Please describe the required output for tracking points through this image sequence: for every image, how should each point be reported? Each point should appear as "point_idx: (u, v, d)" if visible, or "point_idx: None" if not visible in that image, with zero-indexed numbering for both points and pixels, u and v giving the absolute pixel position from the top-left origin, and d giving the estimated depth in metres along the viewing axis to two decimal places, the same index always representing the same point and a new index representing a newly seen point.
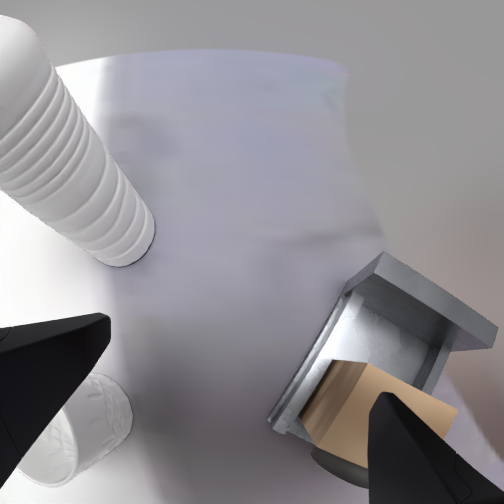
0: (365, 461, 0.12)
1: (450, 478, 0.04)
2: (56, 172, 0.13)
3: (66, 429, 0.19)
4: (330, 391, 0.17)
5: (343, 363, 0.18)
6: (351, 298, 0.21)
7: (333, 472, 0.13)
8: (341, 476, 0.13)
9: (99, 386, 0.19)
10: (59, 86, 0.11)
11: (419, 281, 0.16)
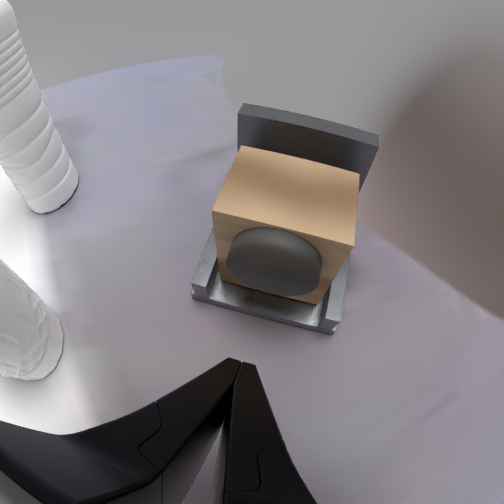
0: (272, 219, 0.15)
1: (249, 464, 0.04)
2: (12, 87, 0.15)
3: None
4: None
5: None
6: None
7: (245, 246, 0.15)
8: (254, 245, 0.14)
9: None
10: (20, 39, 0.14)
11: (280, 113, 0.21)
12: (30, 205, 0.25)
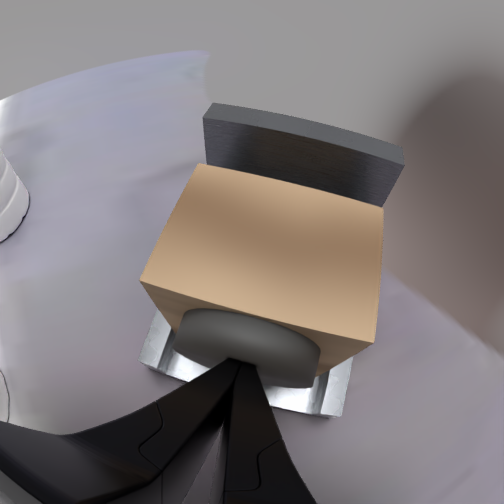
0: (237, 298, 0.09)
1: (249, 464, 0.04)
2: None
3: None
4: None
5: None
6: None
7: (192, 342, 0.09)
8: (206, 343, 0.08)
9: None
10: None
11: (263, 115, 0.15)
12: None
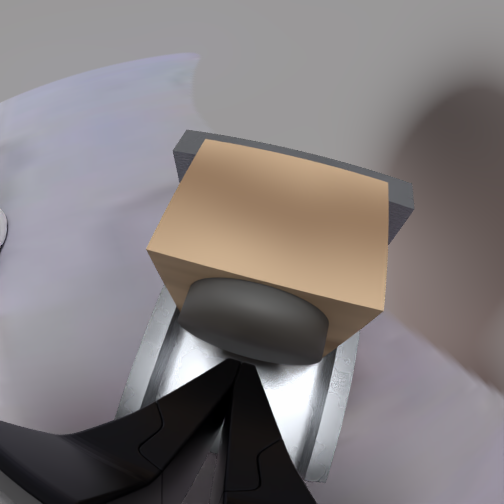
0: (245, 265, 0.09)
1: (249, 463, 0.04)
2: None
3: None
4: None
5: None
6: None
7: (199, 311, 0.09)
8: (214, 311, 0.08)
9: None
10: None
11: None
12: None
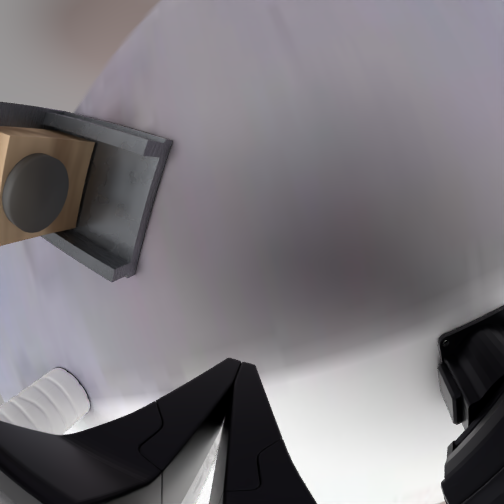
0: None
1: (249, 464, 0.04)
2: None
3: None
4: None
5: None
6: None
7: (13, 221, 0.14)
8: (10, 215, 0.14)
9: None
10: None
11: None
12: (83, 413, 0.27)
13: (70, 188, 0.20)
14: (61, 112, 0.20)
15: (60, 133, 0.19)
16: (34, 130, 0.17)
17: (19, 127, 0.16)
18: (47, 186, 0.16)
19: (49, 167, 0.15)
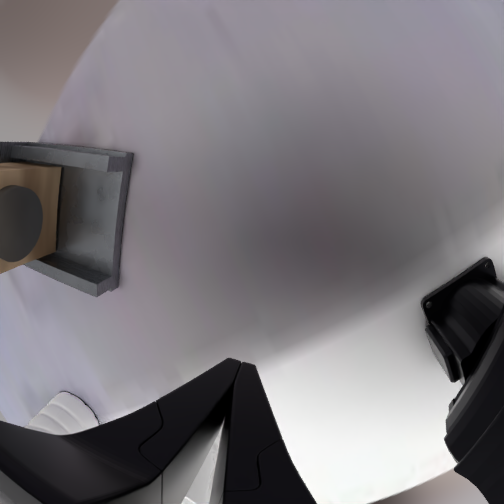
0: None
1: (249, 463, 0.04)
2: None
3: None
4: None
5: None
6: None
7: None
8: None
9: None
10: None
11: None
12: None
13: (45, 214, 0.20)
14: (26, 143, 0.20)
15: (28, 163, 0.19)
16: (3, 164, 0.17)
17: None
18: (22, 215, 0.16)
19: (22, 197, 0.16)
